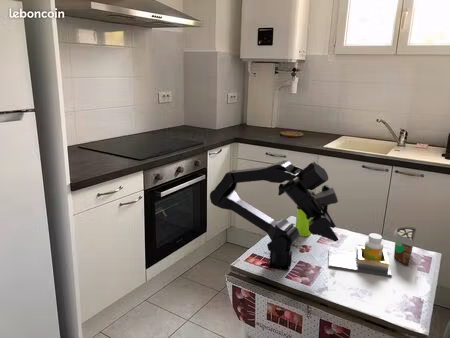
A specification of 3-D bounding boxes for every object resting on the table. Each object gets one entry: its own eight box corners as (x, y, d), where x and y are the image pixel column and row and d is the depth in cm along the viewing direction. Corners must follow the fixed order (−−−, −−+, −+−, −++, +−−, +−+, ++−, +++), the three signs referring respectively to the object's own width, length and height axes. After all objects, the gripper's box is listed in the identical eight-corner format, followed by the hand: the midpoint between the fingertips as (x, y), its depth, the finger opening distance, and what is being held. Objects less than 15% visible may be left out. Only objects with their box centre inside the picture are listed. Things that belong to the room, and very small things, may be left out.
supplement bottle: (359, 262, 124) (363, 235, 121) (367, 256, 128) (371, 230, 125) (375, 269, 120) (379, 241, 118) (383, 263, 124) (387, 236, 121)
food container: (393, 247, 136) (397, 222, 133) (411, 252, 133) (416, 226, 130) (387, 263, 126) (391, 235, 123) (407, 268, 123) (412, 240, 120)
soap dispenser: (314, 236, 143) (319, 186, 137) (296, 236, 143) (300, 186, 138) (311, 229, 149) (316, 181, 143) (294, 229, 149) (297, 181, 143)
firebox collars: (328, 267, 122) (329, 256, 121) (329, 249, 133) (330, 240, 132) (391, 277, 118) (393, 266, 116) (386, 258, 129) (388, 248, 128)
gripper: (324, 190, 103) (362, 231, 104) (321, 171, 120) (353, 206, 122) (293, 214, 107) (330, 254, 108) (294, 192, 124) (325, 226, 125)
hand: (335, 233), depth 116 cm, fingers open, 9 cm apart
